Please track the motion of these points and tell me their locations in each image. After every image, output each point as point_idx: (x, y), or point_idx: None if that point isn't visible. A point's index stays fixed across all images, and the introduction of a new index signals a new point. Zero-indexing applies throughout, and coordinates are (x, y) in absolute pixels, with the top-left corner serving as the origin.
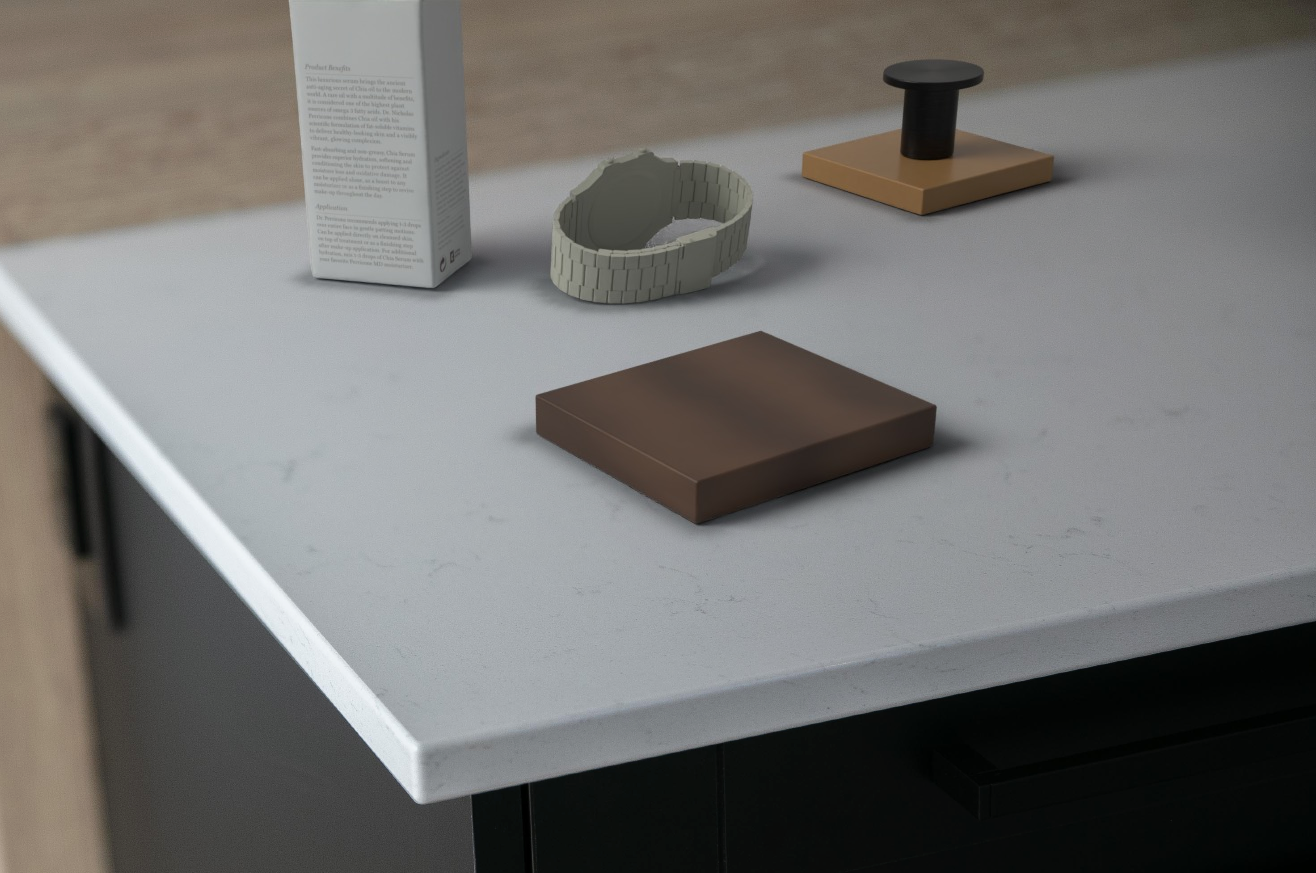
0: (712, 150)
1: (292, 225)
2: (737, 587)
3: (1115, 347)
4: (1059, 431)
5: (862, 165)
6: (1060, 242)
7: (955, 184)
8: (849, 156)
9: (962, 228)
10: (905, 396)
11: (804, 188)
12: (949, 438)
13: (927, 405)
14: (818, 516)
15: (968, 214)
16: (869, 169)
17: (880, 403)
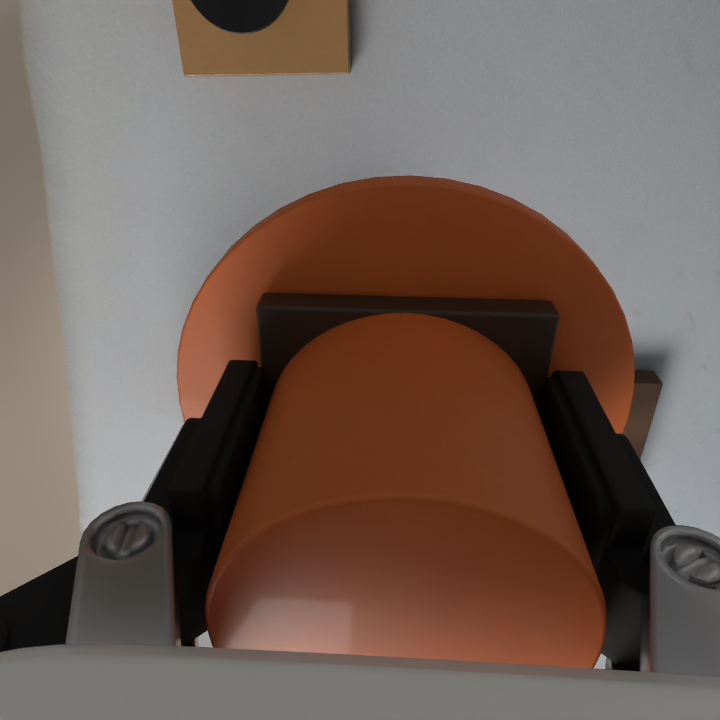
0: (66, 79)
1: (111, 427)
2: (670, 505)
3: (654, 183)
4: (697, 309)
5: (253, 61)
6: (482, 23)
7: (348, 27)
8: (222, 50)
9: (397, 65)
10: (642, 387)
11: (221, 94)
12: (652, 356)
13: (659, 387)
14: (656, 450)
15: (371, 28)
16: (268, 66)
17: (637, 402)
